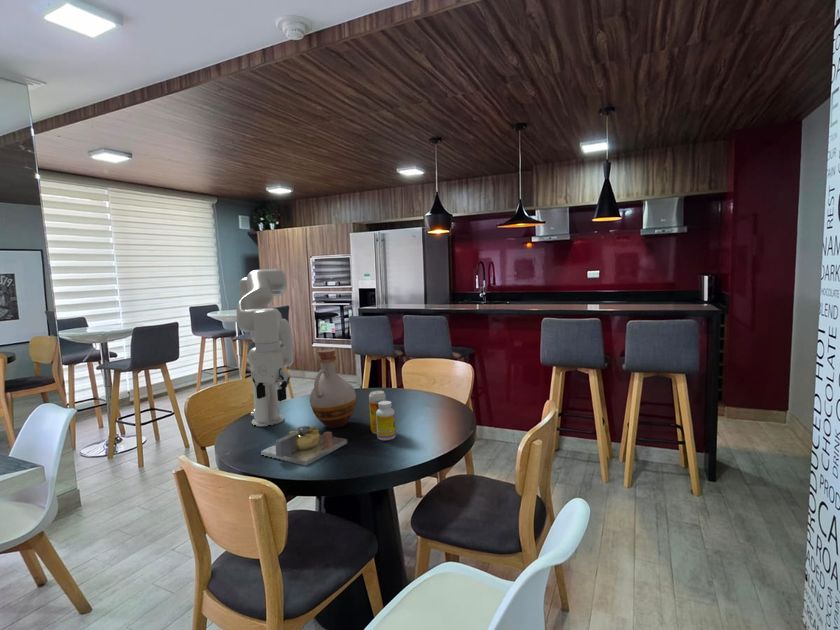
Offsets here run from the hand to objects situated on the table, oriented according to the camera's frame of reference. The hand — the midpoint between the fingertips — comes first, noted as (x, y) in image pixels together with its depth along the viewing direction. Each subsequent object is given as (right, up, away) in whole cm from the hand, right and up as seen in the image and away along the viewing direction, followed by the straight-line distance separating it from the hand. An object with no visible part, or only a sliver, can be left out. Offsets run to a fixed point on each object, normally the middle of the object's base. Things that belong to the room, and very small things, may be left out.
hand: (271, 399), depth 145 cm
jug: (+16, -16, +28) cm, 36 cm away
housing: (+10, -18, +5) cm, 21 cm away
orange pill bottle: (+34, -16, +19) cm, 42 cm away
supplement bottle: (+37, -16, +12) cm, 42 cm away
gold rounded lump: (+8, -17, +2) cm, 19 cm away
